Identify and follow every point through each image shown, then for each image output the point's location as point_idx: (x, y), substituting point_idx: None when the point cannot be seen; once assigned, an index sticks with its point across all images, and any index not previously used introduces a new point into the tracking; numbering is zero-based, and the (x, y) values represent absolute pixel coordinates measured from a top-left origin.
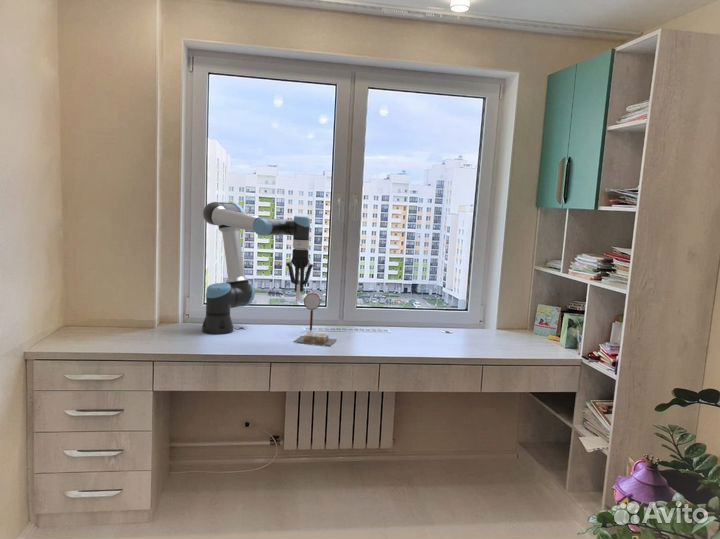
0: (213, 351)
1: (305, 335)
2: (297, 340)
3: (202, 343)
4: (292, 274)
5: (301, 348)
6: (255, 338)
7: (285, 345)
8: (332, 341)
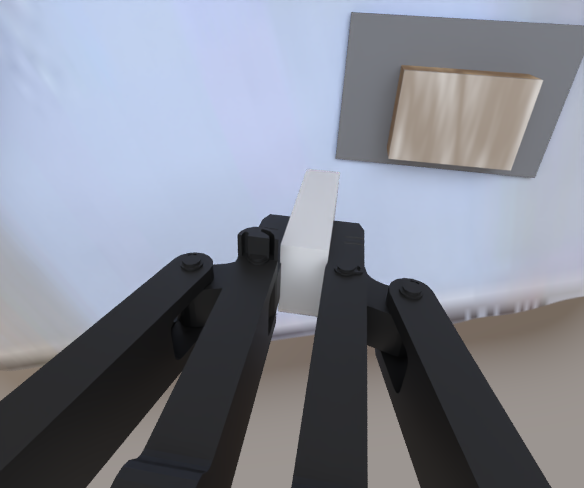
0: None
1: (396, 159)
2: (350, 136)
3: (35, 257)
4: (137, 407)
5: (389, 238)
6: (147, 134)
7: None
8: (554, 97)
